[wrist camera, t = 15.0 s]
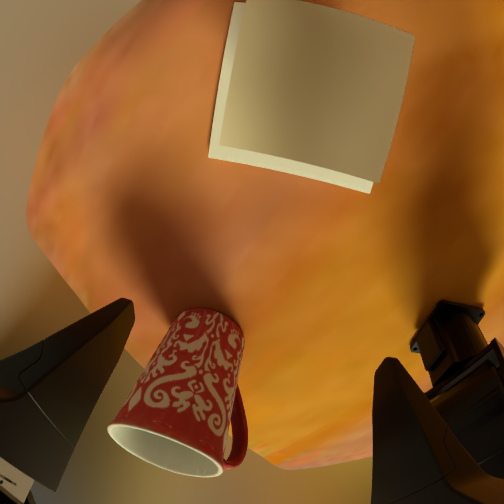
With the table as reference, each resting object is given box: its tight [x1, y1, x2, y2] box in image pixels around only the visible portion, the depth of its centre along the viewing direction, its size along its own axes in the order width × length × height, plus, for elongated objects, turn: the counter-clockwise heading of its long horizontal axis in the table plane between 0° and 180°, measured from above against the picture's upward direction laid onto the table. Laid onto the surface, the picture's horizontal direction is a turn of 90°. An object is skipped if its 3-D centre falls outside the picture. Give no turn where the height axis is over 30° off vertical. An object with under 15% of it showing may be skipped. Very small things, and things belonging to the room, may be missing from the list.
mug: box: [107, 308, 248, 477], centre depth 23 cm, size 13×9×14 cm
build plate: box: [208, 2, 373, 194], centre depth 16 cm, size 11×11×1 cm
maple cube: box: [219, 0, 415, 184], centre depth 9 cm, size 5×5×5 cm
